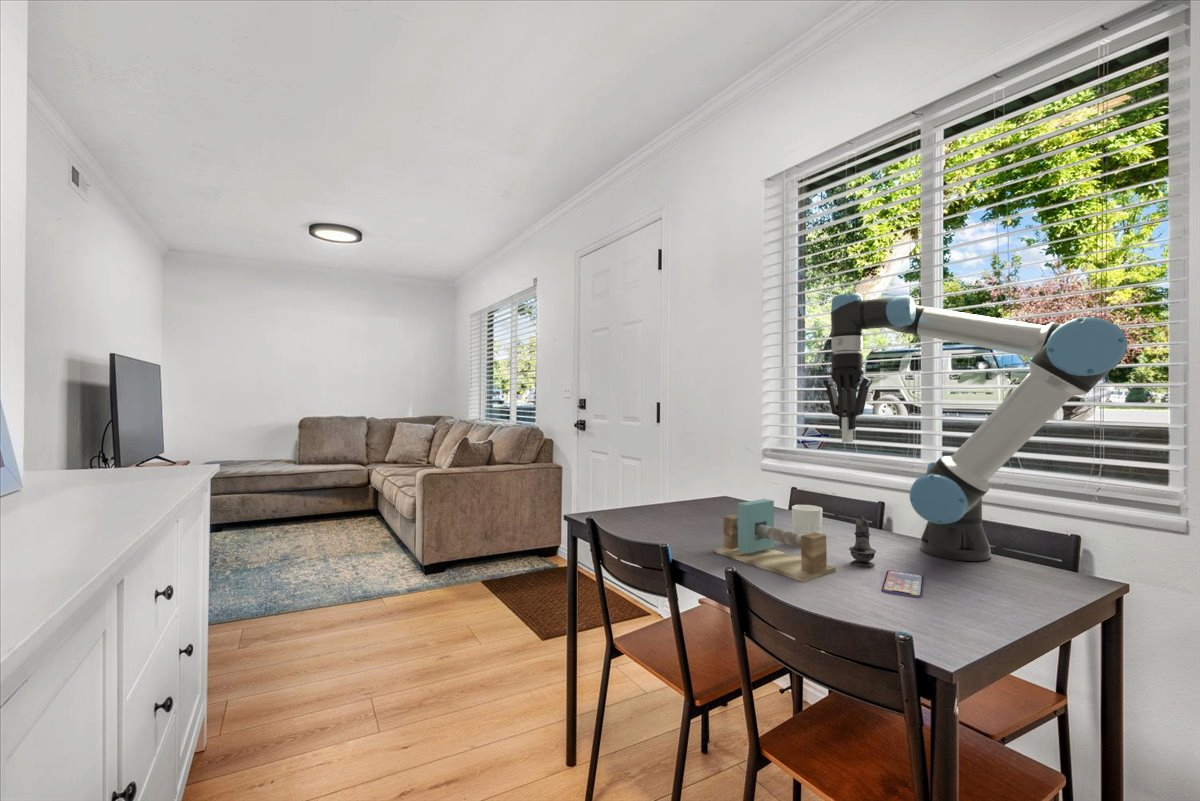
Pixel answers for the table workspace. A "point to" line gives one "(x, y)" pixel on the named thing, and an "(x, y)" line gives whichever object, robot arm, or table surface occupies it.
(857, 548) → the black chess piece
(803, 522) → the white cup
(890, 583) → the smartphone
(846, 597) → the table surface
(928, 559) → the table surface
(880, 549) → the table surface
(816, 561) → the pipe stand
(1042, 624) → the table surface
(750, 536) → the collar
